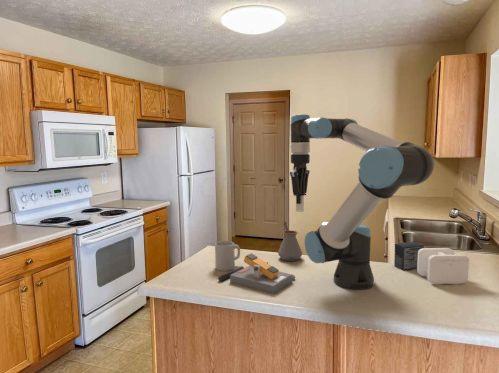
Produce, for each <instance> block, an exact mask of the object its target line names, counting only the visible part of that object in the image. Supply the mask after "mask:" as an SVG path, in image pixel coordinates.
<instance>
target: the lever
mask: <svg viewBox="0 0 499 373" xmlns="http://www.w3.org/2000/svg"><path fill="white" fill-rule="evenodd" d="M264 261H265V260H262V259H260V258H259V257H258V256H257V255H256V254H253V253H249V254H247V255H245V256H244V259H243V263H245V264H247V265H248V266H251V267H253V268H254V265H259V266H260V272H261V273H262V274H264V275H266V276H267V277H269V278H270V279H274V278H275V277H277V276H278V273H279V272H280V269H278V268H276V267H275V266H273V265H270V264H269V263H268V264H267V263H266V262H267V261H266V262H264Z"/></svg>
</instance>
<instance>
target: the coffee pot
mask: <svg viewBox="0 0 499 373" xmlns="http://www.w3.org/2000/svg"><path fill="white" fill-rule="evenodd" d="M287 223H288V222H287V221H285V220H284V221H283V225H284V227H285V230H284V231H283V234H284V238H283V240H282V241H281V243H280V246H279V250H278V251H277V254H278V256H279V257H280V258H281V259H282V260H283V261H284V262H295V261H298V260H299V259H300V258H301V257H302V255H303V251H302V249H301V248H302V247H300V246H301V245H300V244H299V240H298V239H297V235H298V231H295V230H289V228H288V225H287Z"/></svg>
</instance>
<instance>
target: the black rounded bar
mask: <svg viewBox="0 0 499 373" xmlns="http://www.w3.org/2000/svg"><path fill="white" fill-rule="evenodd" d="M244 268H245V267H244V266H242V265H241V266H239V267H237V268H236V267H235V268H234V269H232V270H229V271H227V272H226V273H223V274H222V275H219V276H218V278H217V280H218V281H219V282H222V281H225V280H227V279H230V275H231V274H233V273H235V272H238V271H240V270H242V269H244Z"/></svg>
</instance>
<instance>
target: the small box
mask: <svg viewBox="0 0 499 373" xmlns="http://www.w3.org/2000/svg"><path fill="white" fill-rule="evenodd" d="M422 248H425V245H424V244H423V243H419V242H416V241H409V242H398V243H397V242H396V243H394V264H393V265H394V267H395V268H397V269H399V270H401V271H402V272H403V271H412V270H417V260H418V251H419V250H420V249H422Z"/></svg>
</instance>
